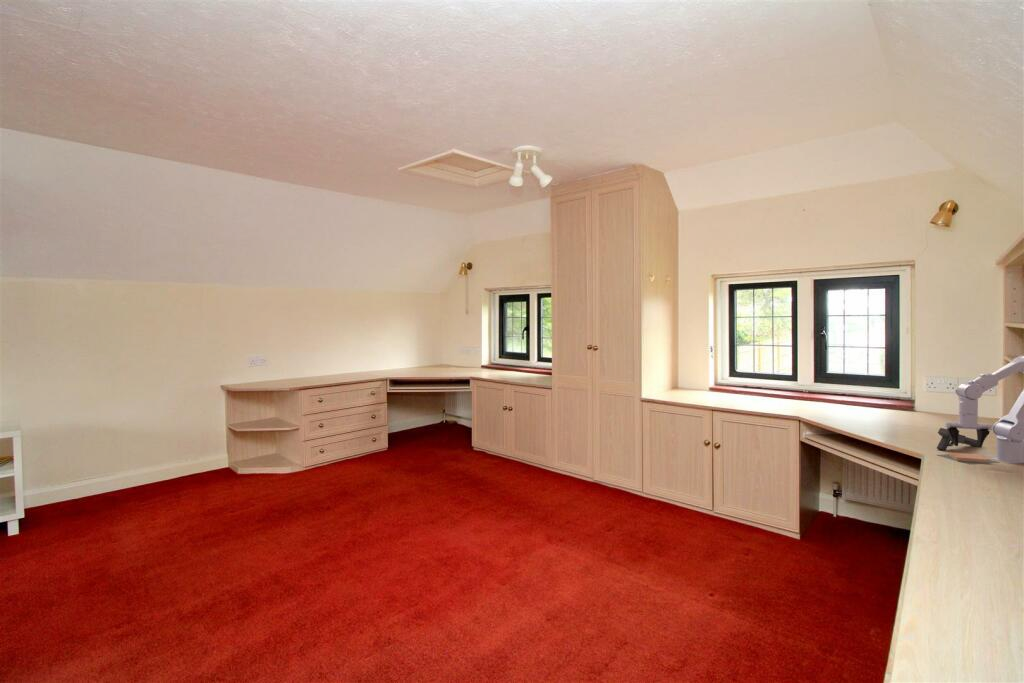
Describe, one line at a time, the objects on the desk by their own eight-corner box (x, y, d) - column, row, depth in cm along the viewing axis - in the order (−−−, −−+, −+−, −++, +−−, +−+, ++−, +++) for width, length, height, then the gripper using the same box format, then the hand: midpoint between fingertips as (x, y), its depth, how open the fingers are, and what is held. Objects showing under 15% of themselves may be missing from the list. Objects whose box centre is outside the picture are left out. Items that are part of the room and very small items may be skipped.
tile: (948, 452, 213) (956, 457, 206) (978, 454, 209) (988, 459, 202) (948, 455, 213) (956, 460, 206) (978, 458, 210) (988, 463, 202)
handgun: (933, 449, 224) (938, 427, 224) (968, 458, 231) (973, 437, 232) (943, 451, 220) (948, 429, 221) (979, 460, 228) (983, 439, 228)
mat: (964, 454, 217) (964, 453, 217) (999, 463, 203) (999, 462, 203) (935, 456, 215) (935, 454, 215) (969, 465, 201) (969, 464, 201)
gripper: (986, 412, 208) (985, 445, 209) (942, 410, 214) (941, 442, 214) (994, 415, 202) (993, 449, 202) (949, 413, 207) (948, 446, 208)
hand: (967, 446), depth 208 cm, fingers open, 7 cm apart
